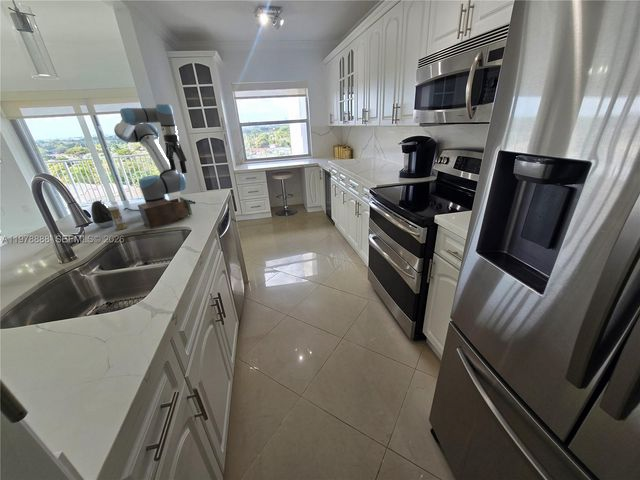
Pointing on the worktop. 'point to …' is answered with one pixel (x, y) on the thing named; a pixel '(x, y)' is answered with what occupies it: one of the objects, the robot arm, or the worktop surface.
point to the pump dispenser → (101, 214)
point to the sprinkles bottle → (117, 217)
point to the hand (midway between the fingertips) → (178, 171)
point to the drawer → (182, 207)
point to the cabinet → (158, 213)
